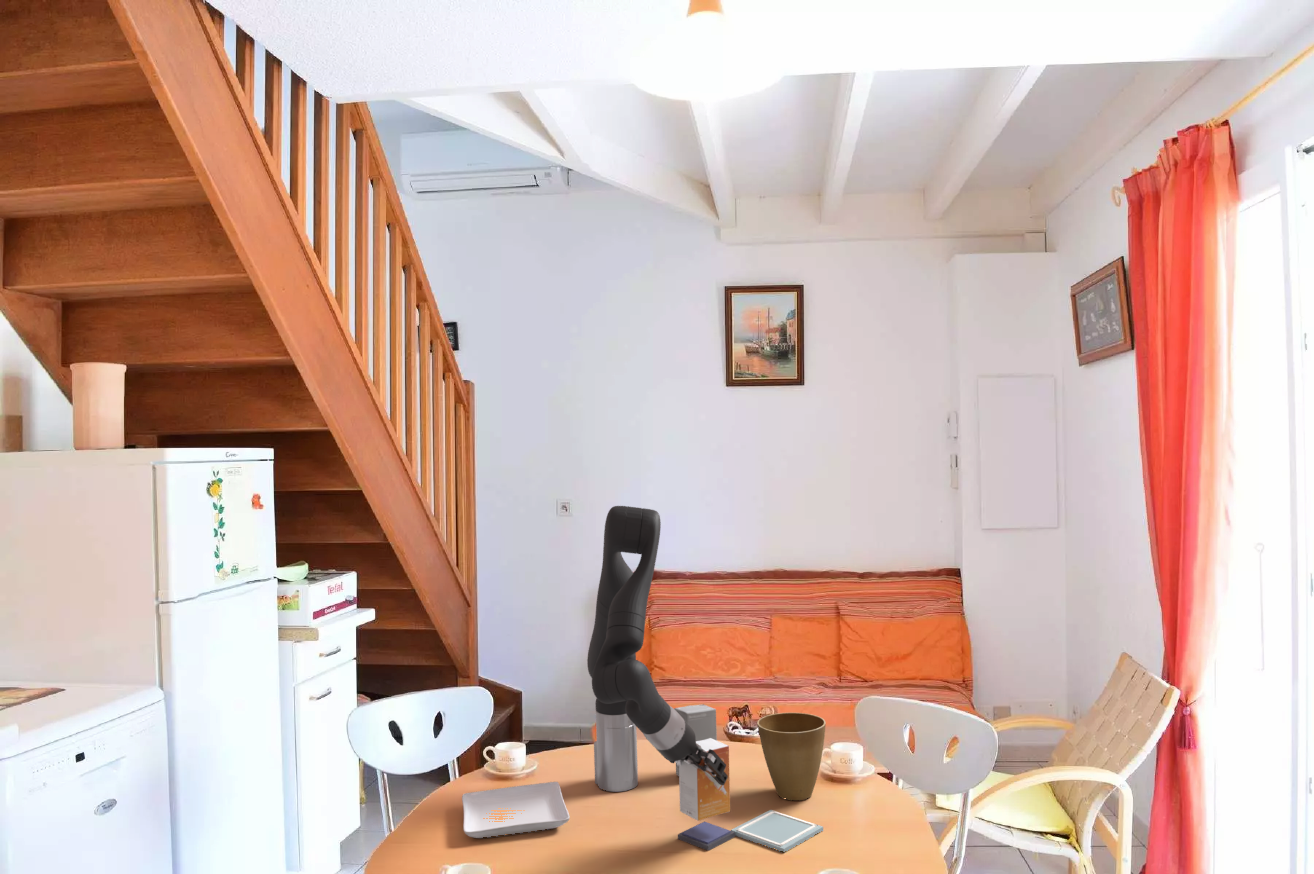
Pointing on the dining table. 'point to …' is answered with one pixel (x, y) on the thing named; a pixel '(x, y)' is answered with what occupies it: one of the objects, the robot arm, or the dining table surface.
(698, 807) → the small box
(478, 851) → the dining table surface
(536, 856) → the dining table surface
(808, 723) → the plant pot
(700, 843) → the ink pad
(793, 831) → the board
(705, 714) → the skincare box
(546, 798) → the salad plate
